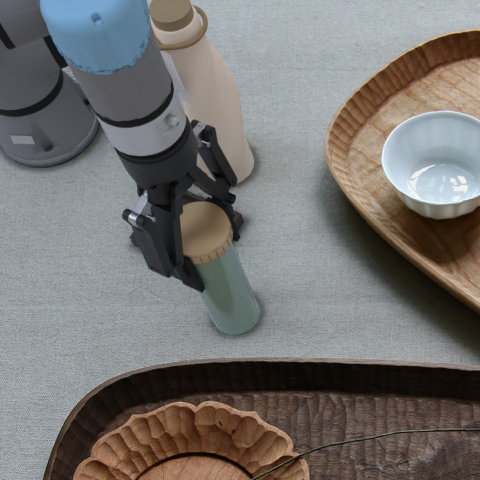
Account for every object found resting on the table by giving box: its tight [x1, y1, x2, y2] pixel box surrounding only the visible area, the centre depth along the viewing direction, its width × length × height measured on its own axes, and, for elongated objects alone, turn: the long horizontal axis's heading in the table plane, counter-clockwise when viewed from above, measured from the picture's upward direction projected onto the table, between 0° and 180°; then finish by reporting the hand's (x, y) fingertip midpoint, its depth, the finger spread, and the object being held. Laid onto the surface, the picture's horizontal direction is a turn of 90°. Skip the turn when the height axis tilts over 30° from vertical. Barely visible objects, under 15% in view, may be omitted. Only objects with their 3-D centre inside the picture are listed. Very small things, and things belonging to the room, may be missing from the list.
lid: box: [180, 202, 233, 264], centre depth 92 cm, size 7×7×2 cm
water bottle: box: [148, 0, 255, 184], centre depth 106 cm, size 10×9×28 cm
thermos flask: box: [193, 240, 261, 336], centre depth 101 cm, size 6×6×19 cm
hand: (212, 260), depth 97 cm, fingers closed on lid, 7 cm apart
